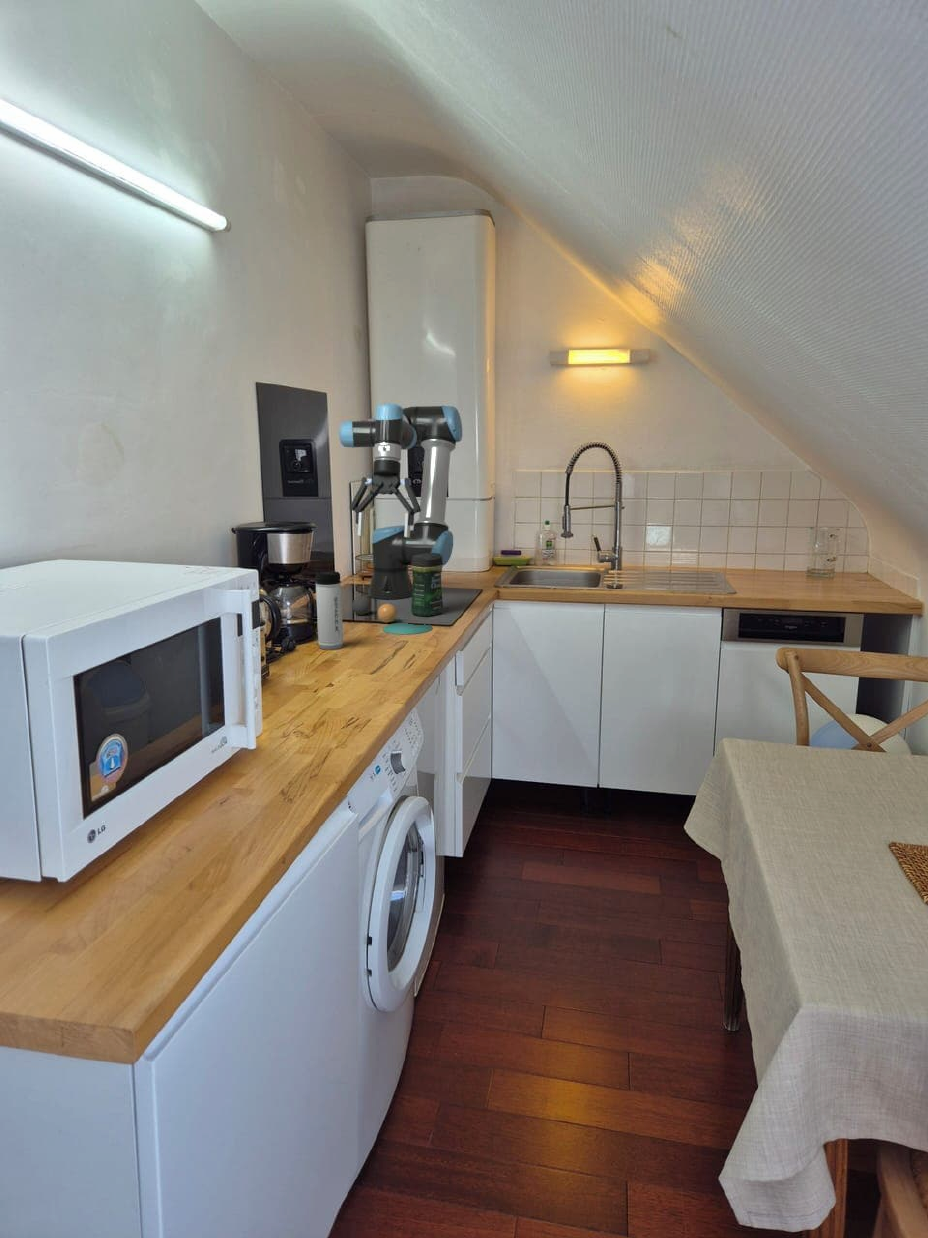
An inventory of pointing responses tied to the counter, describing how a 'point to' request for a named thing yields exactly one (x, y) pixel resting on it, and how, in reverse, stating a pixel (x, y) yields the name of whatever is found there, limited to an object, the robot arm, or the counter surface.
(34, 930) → the counter surface
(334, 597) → the travel mug
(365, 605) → the dark gray ball
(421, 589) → the coffee jar
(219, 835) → the counter surface
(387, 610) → the orange ball
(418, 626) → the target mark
